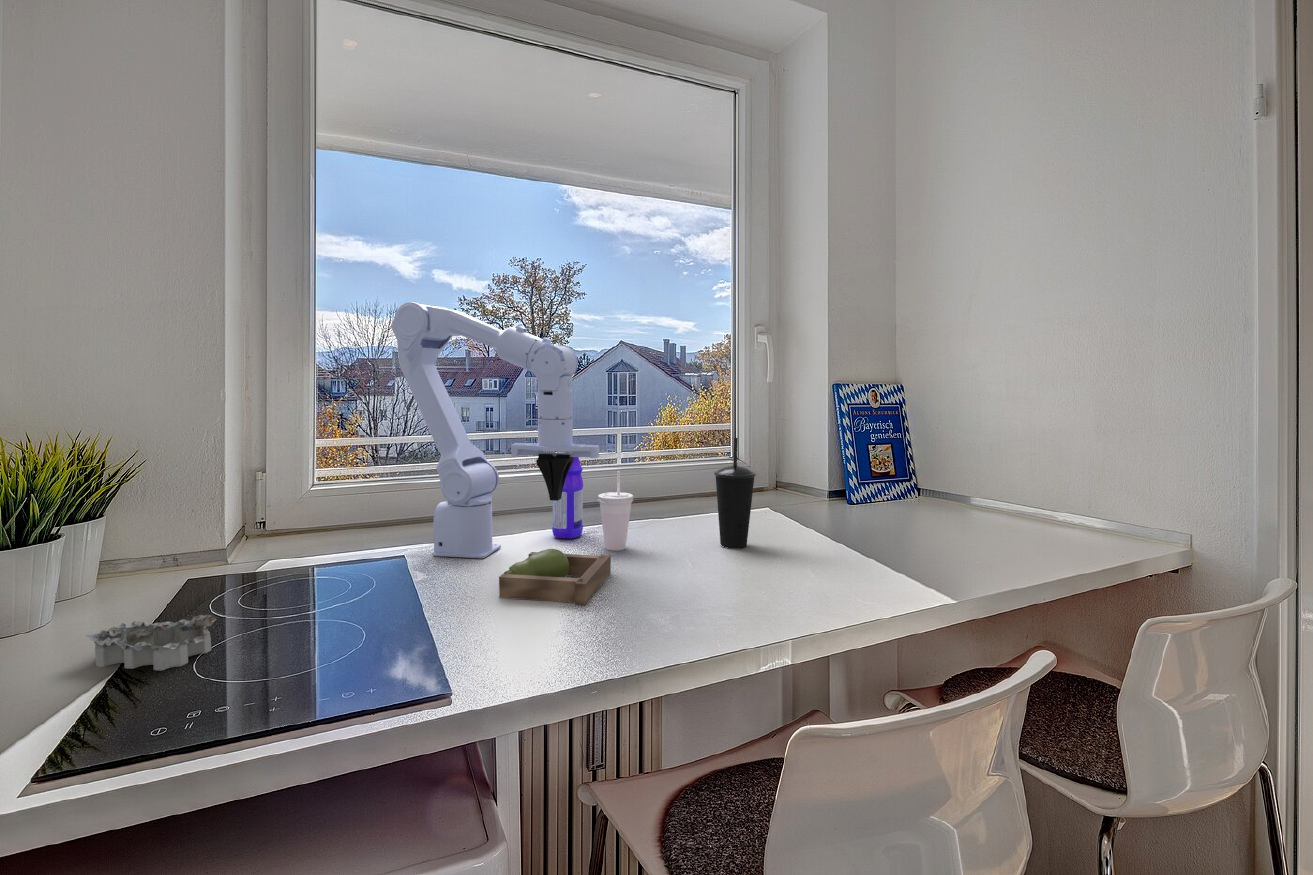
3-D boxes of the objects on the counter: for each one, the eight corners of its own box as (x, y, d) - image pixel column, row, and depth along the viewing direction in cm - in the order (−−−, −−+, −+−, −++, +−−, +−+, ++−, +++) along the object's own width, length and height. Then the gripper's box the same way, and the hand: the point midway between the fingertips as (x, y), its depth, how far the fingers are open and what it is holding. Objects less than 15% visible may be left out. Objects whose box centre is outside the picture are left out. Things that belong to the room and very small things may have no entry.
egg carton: (223, 648, 79) (221, 614, 78) (166, 677, 71) (164, 639, 71) (144, 640, 81) (142, 607, 80) (80, 667, 73) (77, 630, 73)
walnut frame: (497, 599, 95) (496, 578, 95) (533, 568, 110) (533, 550, 110) (585, 605, 93) (585, 583, 93) (610, 573, 108) (610, 554, 108)
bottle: (557, 531, 136) (557, 444, 135) (585, 531, 136) (585, 444, 134) (548, 539, 129) (548, 448, 127) (578, 540, 129) (578, 449, 127)
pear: (572, 549, 101) (508, 570, 96) (577, 582, 102) (514, 605, 97) (556, 541, 106) (495, 560, 101) (562, 573, 107) (501, 593, 102)
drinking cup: (707, 548, 124) (709, 438, 122) (719, 538, 131) (721, 435, 129) (748, 552, 121) (751, 440, 119) (758, 542, 128) (761, 437, 126)
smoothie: (628, 553, 120) (628, 474, 119) (593, 551, 121) (593, 473, 120) (636, 544, 126) (637, 469, 125) (603, 542, 128) (603, 468, 126)
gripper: (504, 419, 110) (505, 502, 111) (591, 421, 108) (591, 505, 109) (519, 416, 117) (520, 494, 118) (602, 418, 115) (602, 497, 116)
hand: (555, 499), depth 114 cm, fingers closed
